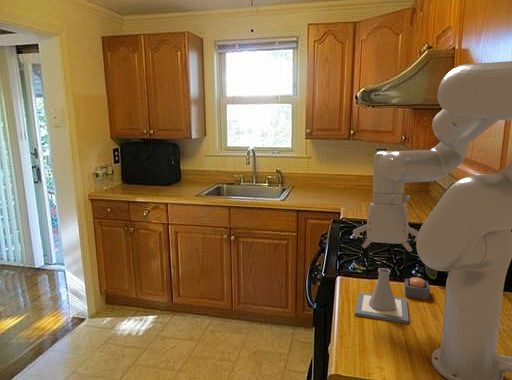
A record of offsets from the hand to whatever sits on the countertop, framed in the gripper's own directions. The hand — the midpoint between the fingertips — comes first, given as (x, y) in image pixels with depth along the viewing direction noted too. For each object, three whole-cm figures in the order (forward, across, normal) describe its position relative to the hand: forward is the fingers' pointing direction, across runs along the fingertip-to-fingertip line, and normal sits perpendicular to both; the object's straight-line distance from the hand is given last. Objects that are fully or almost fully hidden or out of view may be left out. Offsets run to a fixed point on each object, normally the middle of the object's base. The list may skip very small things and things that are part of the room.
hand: (386, 263), depth 99 cm
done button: (+11, -9, -14) cm, 20 cm away
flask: (+12, +1, -1) cm, 12 cm away
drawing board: (+13, +1, -1) cm, 13 cm away
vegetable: (+13, -14, -28) cm, 34 cm away
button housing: (+13, -9, -14) cm, 21 cm away
